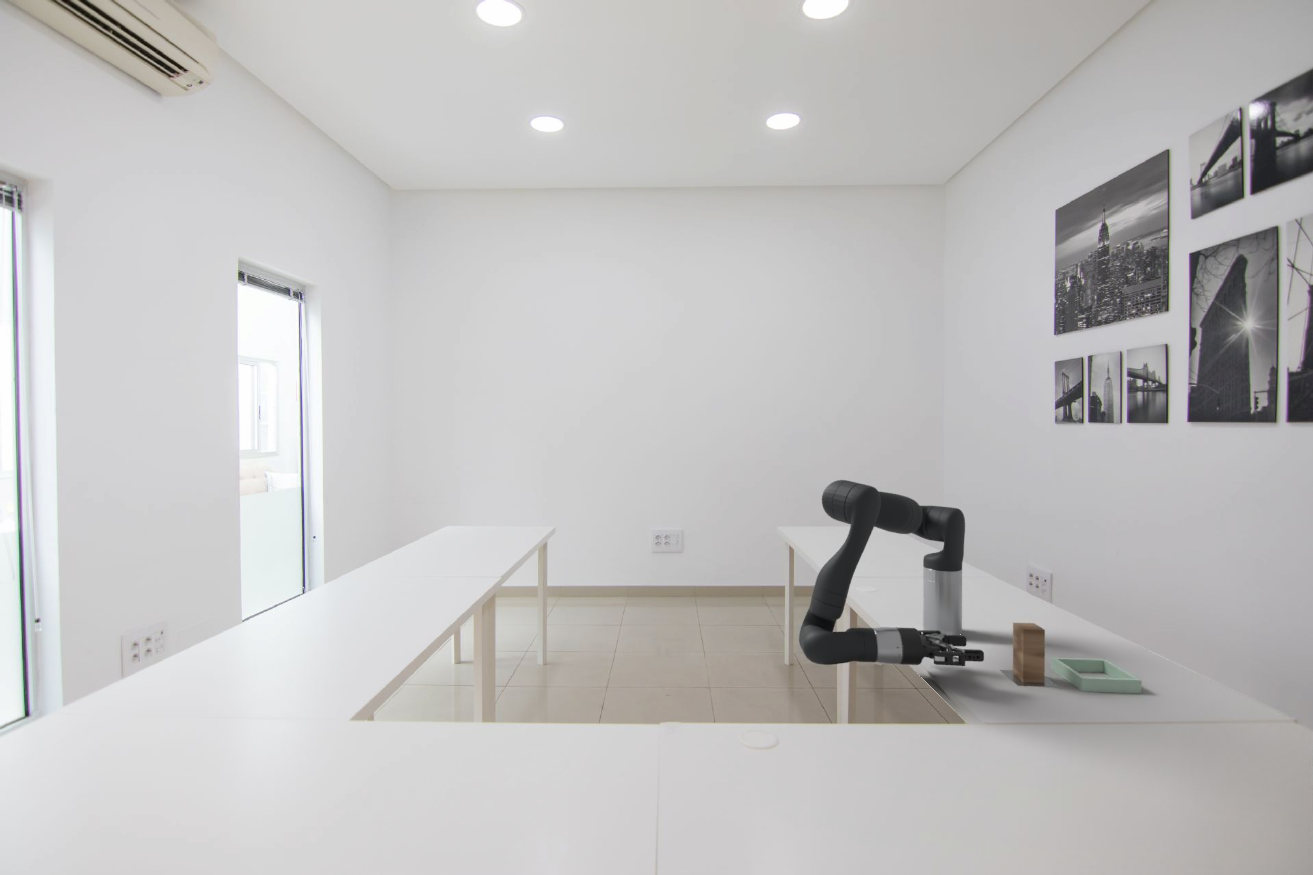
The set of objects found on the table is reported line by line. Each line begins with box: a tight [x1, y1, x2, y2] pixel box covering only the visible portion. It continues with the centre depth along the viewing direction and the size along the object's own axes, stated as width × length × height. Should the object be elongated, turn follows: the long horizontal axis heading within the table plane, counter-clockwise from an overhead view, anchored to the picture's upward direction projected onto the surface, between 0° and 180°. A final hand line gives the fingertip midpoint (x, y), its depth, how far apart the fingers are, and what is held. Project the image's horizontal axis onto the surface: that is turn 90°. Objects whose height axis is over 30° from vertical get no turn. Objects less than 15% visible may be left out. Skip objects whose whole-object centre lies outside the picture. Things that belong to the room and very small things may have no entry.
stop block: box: [1012, 622, 1046, 683], centre depth 125 cm, size 4×4×11 cm
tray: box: [1050, 657, 1142, 694], centre depth 124 cm, size 11×11×4 cm
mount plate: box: [999, 669, 1060, 688], centre depth 125 cm, size 8×8×1 cm
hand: (974, 647), depth 126 cm, fingers open, 8 cm apart
